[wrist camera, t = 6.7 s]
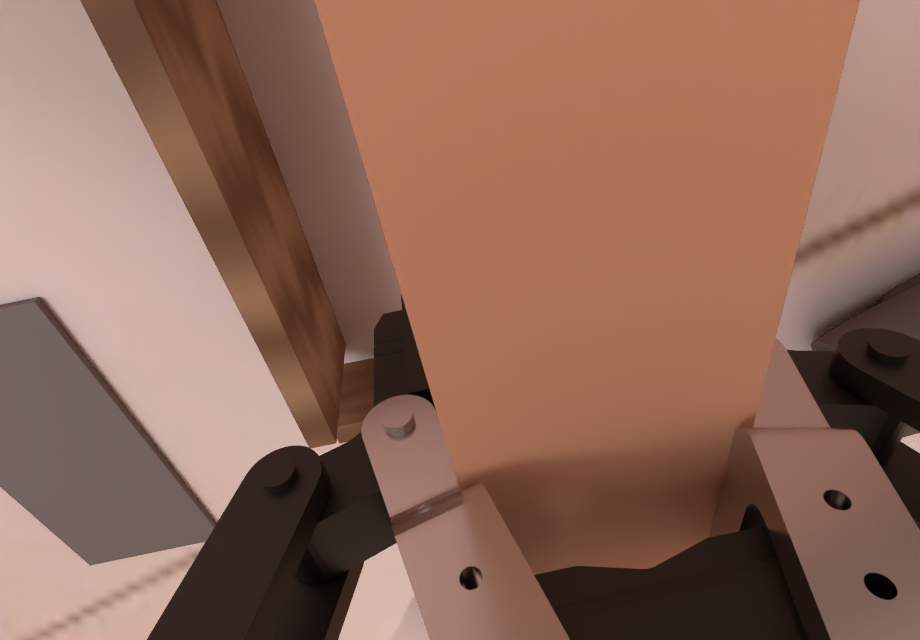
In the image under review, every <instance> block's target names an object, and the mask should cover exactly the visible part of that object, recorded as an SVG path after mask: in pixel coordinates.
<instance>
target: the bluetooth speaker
mask: <svg viewBox="0 0 920 640" xmlns="http://www.w3.org/2000/svg"><path fill="white" fill-rule="evenodd" d="M862 328H879V329H886V330H891V331H896V332H899V333H902V334H905V335H908V336H910V337H913V338H915V339H917V340H919V341H920V274H919V275H917V276H915V277H913V278H911V279H909V280H908V281H906V282H904V283H902V284H900V285H898V286H897V287H895V288H894V289H892V290H891V291H889V292H888V293H886V294H885V295H883V296H882V297H881V298H880V300H879V303H878V304H876V305H874V306H873V307H871V308H870V309H868V310H867V311H865V312H863V313H861V314H859V315H857V316H855V317H854V318H852V319H850V320H848V321H846V322H844V323H843V324H841V325H839V326H837V327H836V328H834V329H832V330H831V331H829V332H828V333H826V334H824V335H823V336H821V337H820V338H818V339H817V340H815V341H814V342H812V344H811V346H812V350H813V351H835V349H836V347H837V344H838V341H839V339H840V338H841V336H842V335H844V334H845V333H847V332H849V331H852V330H856V329H862ZM917 433H920V432H919V431H917V430H916V429H914V428H912V427H911V426H908V428H907V429H906V431H905V433H904V435H903V437H906V436H910V435H913V434H917ZM903 437H902V438H903Z"/></svg>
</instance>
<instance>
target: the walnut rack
mask: <svg viewBox="0 0 920 640" xmlns="http://www.w3.org/2000/svg"><path fill="white" fill-rule="evenodd" d="M81 2H82V4H83V6H84V8H85V10H86V12H87V14H88V16H89V18H90V20H91V22H92V24H93V26H94V28H95V30H96V32H97V34H98V36H99V38H100V40H101V42H102V43H103V45H104V47H105V49H106V51H107V53H108V55H109V57H110V59H111V61H112V63H113V65H114V67H115V69H116V71H117V73H118V75H119V77H120V79H121V81H122V83H123V85H124V86H125V88H126V90H127V92H128V94H129V96H130V98H131V100H132V102H133V104H134V106H135V108H136V110H137V112H138V114H139V116H140V118H141V120H142V122H143V124H144V126H145V128H146V129H147V131H148V133H149V135H150V137H151V139H152V141H153V143H154V145H155V147H156V149H157V151H158V153H159V155H160V157H161V159H162V161H163V163H164V165H165V167H166V169H167V171H168V172H169V174H170V176H171V178H172V180H173V182H174V184H175V186H176V188H177V190H178V192H179V194H180V196H181V198H182V200H183V202H184V204H185V206H186V208H187V210H188V212H189V214H190V215H191V217H192V219H193V221H194V223H195V225H196V227H197V229H198V231H199V233H200V235H201V237H202V239H203V241H204V243H205V245H206V247H207V249H208V251H209V253H210V255H211V257H212V258H213V260H214V262H215V264H216V266H217V268H218V270H219V272H220V274H221V276H222V278H223V280H224V282H225V284H226V286H227V288H228V290H229V292H230V294H231V296H232V298H233V300H234V301H235V303H236V305H237V307H238V309H239V311H240V313H241V315H242V317H243V319H244V321H245V323H246V325H247V327H248V329H249V331H250V333H251V335H252V337H253V339H254V341H255V343H256V344H257V346H258V348H259V350H260V352H261V354H262V356H263V358H264V360H265V362H266V364H267V366H268V368H269V370H270V372H271V374H272V376H273V378H274V380H275V382H276V384H277V386H278V387H279V389H280V391H281V393H282V395H283V397H284V399H285V401H286V403H287V405H288V407H289V409H290V411H291V413H292V415H293V417H294V419H295V421H296V423H297V425H298V427H299V429H300V430H301V432H302V434H303V436H304V438H305V440H306V442H307V444H308V446H309V448H315V447H320V446H325V445H330V444H335V443H336V441H337V439H338V441H339V443H343V442H348V441H350V440H351V439H353V438H354V437H355V436H357V435H358V434H359V433H360V432H361V428H362V424H363V421H364V419H365V417H366V416H367V414H368V413H369V412H370V411H371V410H372V409H373V405H374V360H375V359H374V358H372V359H367V360H363V361H358V362H353V363H348V364H344V354H345V341H344V339H343V336H342V333H341V331H340V328H339V325H338V323H337V320H336V318H335V315H334V312H333V310H332V307H331V304H330V302H329V299H328V296H327V294H326V291H325V288H324V286H323V283H322V280H321V278H320V275H319V272H318V270H317V267H316V264H315V262H314V259H313V256H312V254H311V251H310V249H309V246H308V243H307V241H306V238H305V235H304V233H303V230H302V227H301V225H300V222H299V219H298V217H297V214H296V211H295V209H294V206H293V203H292V201H291V198H290V195H289V193H288V190H287V188H286V185H285V182H284V180H283V177H282V174H281V172H280V169H279V166H278V164H277V161H276V158H275V156H274V153H273V150H272V148H271V145H270V142H269V140H268V137H267V134H266V132H265V129H264V127H263V124H262V121H261V119H260V116H259V113H258V111H257V108H256V105H255V103H254V100H253V97H252V95H251V92H250V89H249V87H248V84H247V81H246V79H245V76H244V73H243V71H242V68H241V66H240V63H239V60H238V58H237V55H236V52H235V50H234V47H233V44H232V42H231V39H230V36H229V34H228V31H227V28H226V26H225V23H224V20H223V18H222V15H221V12H220V10H219V7H218V5H217V2H216V0H81Z"/></svg>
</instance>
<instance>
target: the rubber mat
mask: <svg viewBox="0 0 920 640" xmlns="http://www.w3.org/2000/svg"><path fill="white" fill-rule="evenodd" d="M0 487H1V488H2V489H3V490H5V491H6V492H7V493H8V494H9V495H10V496H11V497H13V498H14V499H15V500H16V501H17V502H18V503H19V504H21V505H22V506H23V507H24V508H25V509H26V510H28V511H29V512H30V513H31V514H32V515H33V516H34V517H36V518H37V519H38V520H39V521H40V522H41V523H42V524H44V525H45V526H46V527H47V528H48V529H49V530H50V531H52V532H53V533H54V534H55V535H56V536H57V537H58V538H60V539H61V540H62V541H63V542H64V543H65V544H66V545H68V546H69V547H70V548H71V549H72V550H73V551H74V552H76V553H77V554H78V555H79V556H80V557H81V558H82V559H84V560H85V561H86V562H87V563H88V564H89V565H94V564H99V563H104V562H109V561H114V560H118V559H123V558H128V557H133V556H138V555H143V554H147V553H152V552H157V551H162V550H167V549H172V548H176V547H181V546H186V545H191V544H196V543H201V542H205V541H207V539H208V537H209V536H210V534H211V532H212V531H213V529H214V527H215V526H216V522H215V521H214V520H213V519H212V517H211V516H210V515H209V513H208V512H207V511H206V510H205V508H204V507H203V506H202V505H201V503H200V502H199V501H198V499H197V498H196V497H195V496H194V494H193V493H192V492H191V491H190V489H189V488H188V487H187V485H186V484H185V483H184V482H183V480H182V479H181V478H180V477H179V475H178V474H177V473H176V471H175V470H174V469H173V468H172V466H171V465H170V464H169V462H168V461H167V460H166V459H165V457H164V456H163V455H162V454H161V452H160V451H159V450H158V448H157V447H156V446H155V445H154V443H153V442H152V441H151V440H150V438H149V437H148V436H147V434H146V433H145V432H144V431H143V429H142V428H141V427H140V426H139V424H138V423H137V422H136V420H135V419H134V418H133V417H132V415H131V414H130V413H129V411H128V410H127V409H126V408H125V406H124V405H123V404H122V403H121V401H120V400H119V399H118V397H117V396H116V395H115V394H114V392H113V391H112V390H111V389H110V387H109V386H108V385H107V383H106V382H105V381H104V380H103V378H102V377H101V376H100V374H99V373H98V372H97V371H96V369H95V368H94V367H93V366H92V364H91V363H90V362H89V360H88V359H87V358H86V357H85V355H84V354H83V353H82V352H81V350H80V349H79V348H78V346H77V345H76V344H75V343H74V341H73V340H72V339H71V338H70V336H69V335H68V334H67V332H66V331H65V330H64V329H63V327H62V326H61V325H60V323H59V322H58V321H57V320H56V318H55V317H54V316H53V315H52V313H51V312H50V311H49V309H48V308H47V307H46V306H45V304H44V303H43V302H42V301H41V299H40V298H39V297H38V298H33V299H28V300H23V301H18V302H13V303H8V304H3V305H0Z"/></svg>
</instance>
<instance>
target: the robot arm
mask: <svg viewBox="0 0 920 640" xmlns="http://www.w3.org/2000/svg"><path fill="white" fill-rule="evenodd" d="M401 300H402V310H401V311H396V312H391V313H386V314H383V315H382V317H381V319H380V320H379V322H378V324H377V325H376V327H375V329H374V346H375V347H374V359H375V360H374V405H373V409H372V410H371V411H370V412H369V413H368V414H367V416H366V417H365V419H364V421H363V424H362V428H361V432H360V433H359V434H358V435H357V436H355V437H354V438H353V439H351V440H350V441H348V442H347V443H345V444H343V445H341V446H339V447H337V448H335V449H333V450H331V451H329V452H327V453H324V454H322V455H320V456H318V454H317V453H316V452H315V451H314V450H312V449H310V448H308V447H305V446H288V447H284V448H280V449H278V450H275V451H273V452H271V453H269V454H268V455H266V456H265V457H263V458H262V459H260V460H259V461H258V462H257V463H256V464H255V465H254V466H253V467H252V468H251V469H250V470H249V472H248V473H247V475H246V476H245V478H244V479H243V481H242V483H241V484H240V486H239V488H238V489H237V491H236V493H235V494H234V496H233V498H232V499H231V501H230V503H229V504H228V506H227V508H226V509H225V511H224V513H223V514H222V516H221V518H220V519H219V521H218V522H217V524H216V526H215V527H214V529H213V531H212V532H211V534H210V536H209V537H208V539H207V541H206V542H205V544H204V546H203V547H202V549H201V551H200V552H199V554H198V556H197V557H196V559H195V561H194V562H193V564H192V566H191V567H190V569H189V571H188V572H187V574H186V576H185V577H184V579H183V581H182V582H181V584H180V586H179V587H178V589H177V590H176V592H175V594H174V595H173V597H172V599H171V600H170V602H169V604H168V605H167V607H166V609H165V610H164V612H163V614H162V615H161V617H160V619H159V620H158V622H157V624H156V625H155V627H154V629H153V630H152V632H151V634H150V635H149V637H148V639H147V640H338V638H339V635H340V632H341V629H342V626H343V623H344V620H345V617H346V615H347V612H348V609H349V606H350V603H351V600H352V597H353V594H354V591H355V588H356V585H357V582H358V579H359V576H360V573H361V570H362V567H363V564H364V561H365V560H367V559H369V558H371V557H372V556H374V555H376V554H378V553H379V552H381V551H383V550H385V549H386V548H388V547H390V546H392V545H394V544H395V543H397V545H398V548H399V551H400V554H401V557H402V559H403V562H404V565H405V568H406V571H407V574H408V577H409V580H410V583H411V586H412V589H413V592H414V594H415V597H416V600H417V603H418V606H419V609H420V612H421V615H422V618H423V621H424V624H425V626H426V630H427V632H428V635H429V638H430V640H920V453H918V452H917V451H915V450H913V449H912V448H910V447H908V446H907V445H905V444H904V443H902V442H900V440H901V439H902V437H903V435H904V433H905V431H906V429H907V428H908V426H911V427H912V428H914V429H916V430H917V431H919V432H920V341H919V340H917V339H915V338H913V337H910V336H908V335H905V334H902V333H899V332H896V331H891V330H886V329H879V328H862V329H856V330H852V331H849V332H847V333H845V334H844V335H842V336H841V338H840V339H839V341H838V344H837V347H836V349H835V351H793V350H786V348H785V347H784V345H783V344H782V343H781V342H780V341H779V340H777V339H776V338H775V341H774V345H773V349H772V353H771V357H770V361H769V365H768V369H767V373H766V377H765V381H764V385H763V389H762V393H761V397H760V401H759V405H758V409H757V413H756V417H755V421H754V425H753V427H741V428H738V429H737V430H735V432H734V436H733V440H732V444H731V448H730V452H729V456H728V460H727V462H728V471H727V477H726V481H725V485H724V489H723V493H722V497H721V501H720V505H719V509H718V512H717V513H714V517H713V521H712V525H711V529H710V533H709V538H706V539H704V540H702V541H701V542H699V543H697V544H695V545H693V546H691V547H690V548H688V549H686V550H684V551H682V552H680V553H679V554H677V555H675V556H673V557H671V558H669V559H668V560H666V561H664V562H662V563H660V564H658V565H657V566H654V567H652V568H648V569H633V568H612V567H591V566H573V567H569V568H564V569H559V570H555V571H550V572H545V573H541V574H536V575H534V574H533V572H532V571H531V569H530V567H529V565H528V563H527V562H526V560H525V558H524V556H523V554H522V553H521V551H520V549H519V547H518V545H517V544H516V542H515V540H514V538H513V537H512V535H511V533H510V531H509V529H508V528H507V526H506V524H505V522H504V520H503V519H502V517H501V515H500V513H499V511H498V510H497V508H496V506H495V504H494V502H493V501H492V499H491V497H490V495H489V494H488V492H487V490H486V489H485V487H484V486H483V485H482V484H481V483H477V484H475V485H473V486H471V487H469V488H466V489H463V490H459V486H458V483H457V480H456V476H455V473H454V469H453V466H452V463H451V459H450V456H449V453H448V449H447V446H446V442H445V439H444V436H443V432H442V429H441V426H440V422H439V419H438V415H437V412H436V409H435V405H434V402H433V399H432V395H431V392H430V388H429V385H428V382H427V378H426V375H425V372H424V368H423V365H422V362H421V358H420V355H419V351H418V348H417V345H416V341H415V338H414V335H413V331H412V328H411V324H410V321H409V318H408V314H407V311H406V308H405V304H404V301H403V297H402V294H401Z"/></svg>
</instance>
